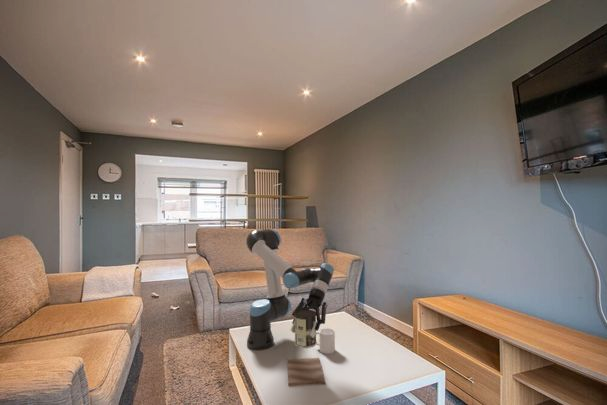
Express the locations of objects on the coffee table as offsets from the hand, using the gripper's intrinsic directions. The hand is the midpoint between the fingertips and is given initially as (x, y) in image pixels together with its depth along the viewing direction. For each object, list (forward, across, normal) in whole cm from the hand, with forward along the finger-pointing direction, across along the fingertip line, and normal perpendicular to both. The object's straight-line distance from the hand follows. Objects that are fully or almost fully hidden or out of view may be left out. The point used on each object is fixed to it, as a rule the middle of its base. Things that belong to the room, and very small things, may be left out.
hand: (301, 334), depth 135 cm
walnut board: (+11, +1, -15) cm, 19 cm away
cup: (-6, +4, -32) cm, 33 cm away
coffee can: (+2, 0, -6) cm, 6 cm away
